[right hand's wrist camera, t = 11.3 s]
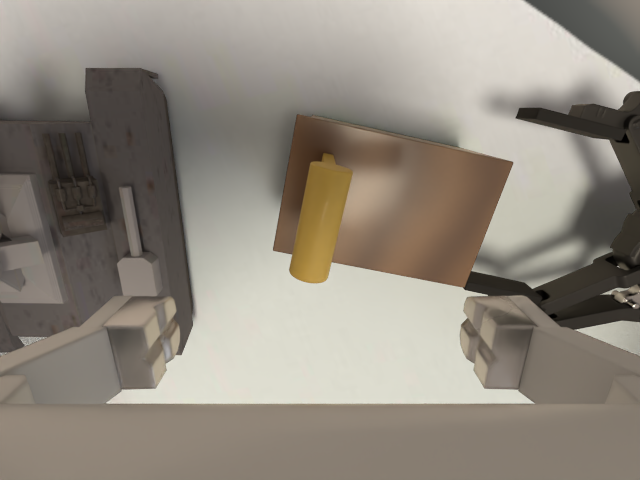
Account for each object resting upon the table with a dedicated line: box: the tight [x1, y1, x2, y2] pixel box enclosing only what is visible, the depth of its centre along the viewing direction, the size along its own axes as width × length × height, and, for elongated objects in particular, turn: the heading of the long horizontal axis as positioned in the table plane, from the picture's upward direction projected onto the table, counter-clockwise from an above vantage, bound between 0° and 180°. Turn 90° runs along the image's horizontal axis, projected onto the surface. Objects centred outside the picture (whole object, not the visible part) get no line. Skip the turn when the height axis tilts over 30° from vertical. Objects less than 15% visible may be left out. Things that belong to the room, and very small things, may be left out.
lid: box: [273, 114, 513, 288], centre depth 22 cm, size 15×10×8 cm, turn 78°
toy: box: [0, 68, 193, 355], centre depth 28 cm, size 25×20×15 cm
